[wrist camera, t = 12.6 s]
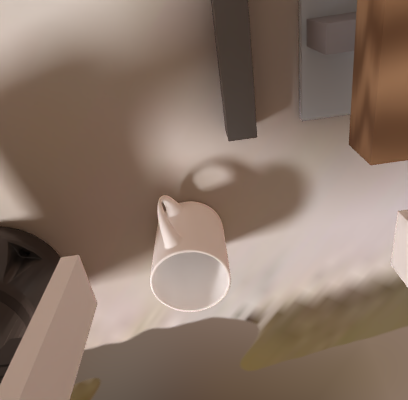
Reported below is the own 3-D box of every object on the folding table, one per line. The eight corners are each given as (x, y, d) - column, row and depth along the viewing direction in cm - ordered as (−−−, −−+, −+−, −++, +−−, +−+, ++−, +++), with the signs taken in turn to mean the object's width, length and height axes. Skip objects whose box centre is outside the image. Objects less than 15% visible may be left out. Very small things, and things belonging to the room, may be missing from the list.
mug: (194, 165, 45) (196, 211, 35) (232, 239, 50) (242, 296, 41) (132, 193, 46) (117, 244, 37) (175, 261, 52) (172, 321, 42)
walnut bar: (389, 138, 36) (417, 158, 32) (348, 144, 36) (370, 165, 32) (420, -126, 27) (465, -149, 22) (363, -117, 27) (398, -138, 22)
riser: (225, 129, 42) (228, 141, 39) (204, -61, 34) (206, -67, 30) (251, 125, 42) (257, 137, 39) (237, -66, 34) (242, -73, 30)
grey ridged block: (299, 118, 42) (318, 139, 36) (298, -76, 33) (322, -91, 27) (388, 105, 42) (422, 125, 36) (410, -94, 33) (460, -114, 27)
